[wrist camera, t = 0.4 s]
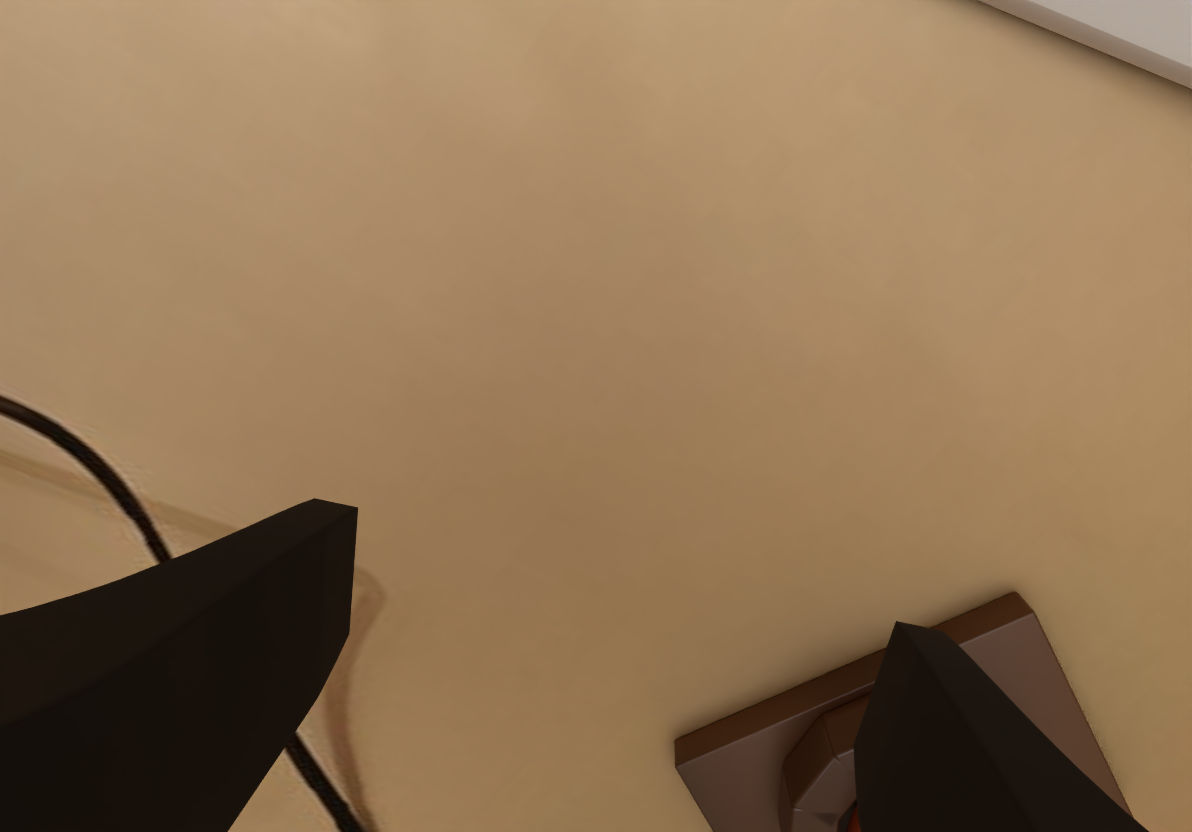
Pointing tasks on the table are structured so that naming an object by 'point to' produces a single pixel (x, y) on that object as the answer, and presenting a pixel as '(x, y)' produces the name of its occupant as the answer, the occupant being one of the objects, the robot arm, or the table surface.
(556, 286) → the table surface
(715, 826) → the switch block
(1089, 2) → the light switch
